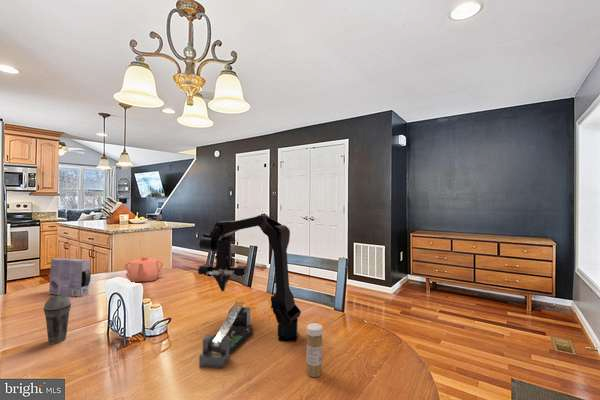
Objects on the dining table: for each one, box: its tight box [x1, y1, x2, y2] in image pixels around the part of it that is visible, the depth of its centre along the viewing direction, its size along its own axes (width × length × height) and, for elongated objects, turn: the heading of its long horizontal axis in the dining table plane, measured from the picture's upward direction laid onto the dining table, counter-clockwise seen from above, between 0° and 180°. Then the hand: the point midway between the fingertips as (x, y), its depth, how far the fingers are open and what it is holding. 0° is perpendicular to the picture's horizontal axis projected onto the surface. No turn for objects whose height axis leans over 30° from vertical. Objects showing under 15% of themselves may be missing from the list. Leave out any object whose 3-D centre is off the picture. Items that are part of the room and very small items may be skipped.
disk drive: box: [212, 324, 254, 355], centre depth 99 cm, size 10×3×15 cm
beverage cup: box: [43, 281, 72, 344], centre depth 98 cm, size 7×7×20 cm
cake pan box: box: [48, 257, 92, 298], centre depth 143 cm, size 19×5×18 cm, turn 82°
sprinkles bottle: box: [305, 322, 324, 378], centre depth 82 cm, size 5×5×14 cm
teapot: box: [124, 255, 164, 283], centre depth 167 cm, size 20×19×14 cm
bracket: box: [198, 306, 252, 369], centre depth 98 cm, size 7×30×7 cm, turn 175°
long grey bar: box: [211, 301, 245, 348], centre depth 99 cm, size 3×25×2 cm, turn 175°
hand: (223, 291), depth 115 cm, fingers closed
